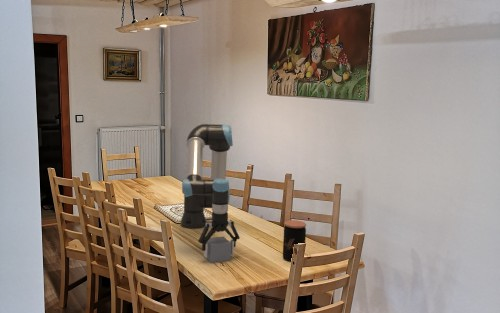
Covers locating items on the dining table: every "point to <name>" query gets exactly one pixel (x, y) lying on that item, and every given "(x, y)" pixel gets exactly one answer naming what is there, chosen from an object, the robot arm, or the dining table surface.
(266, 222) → the dining table surface
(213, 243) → the rounded grey cube
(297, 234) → the coffee jar
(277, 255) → the dining table surface
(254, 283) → the dining table surface
